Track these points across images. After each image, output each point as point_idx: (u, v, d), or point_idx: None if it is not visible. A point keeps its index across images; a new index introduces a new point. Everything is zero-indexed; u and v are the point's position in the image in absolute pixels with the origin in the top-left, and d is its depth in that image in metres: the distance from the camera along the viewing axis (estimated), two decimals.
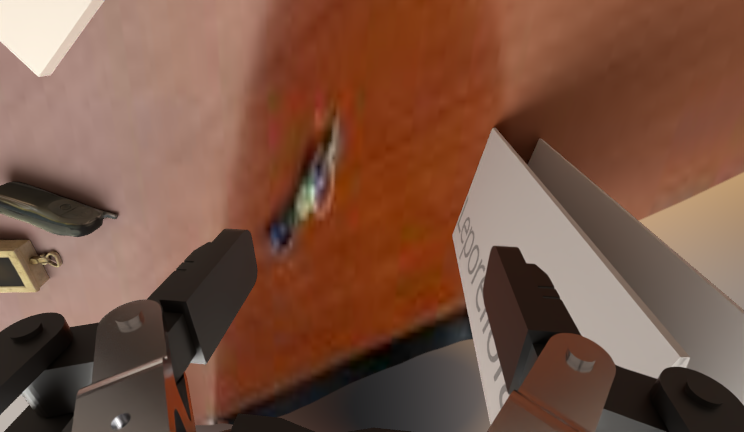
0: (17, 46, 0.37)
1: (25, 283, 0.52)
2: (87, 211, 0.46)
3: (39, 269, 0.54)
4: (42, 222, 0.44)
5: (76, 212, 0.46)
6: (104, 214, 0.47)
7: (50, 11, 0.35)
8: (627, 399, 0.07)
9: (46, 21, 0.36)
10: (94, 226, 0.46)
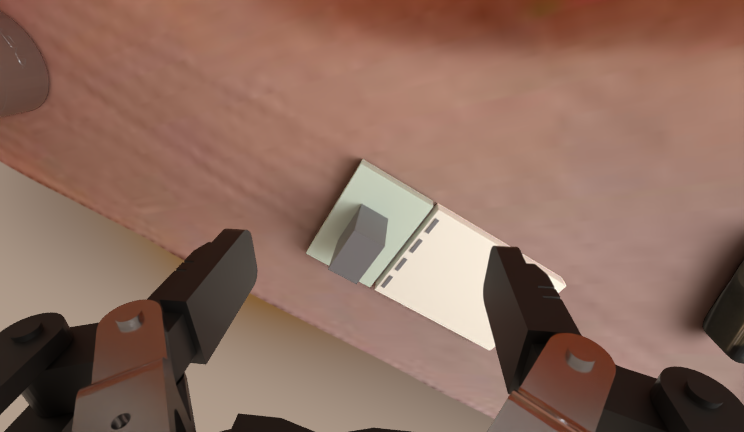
0: None
1: None
2: None
3: None
4: None
5: None
6: None
7: None
8: (627, 399, 0.07)
9: None
10: None
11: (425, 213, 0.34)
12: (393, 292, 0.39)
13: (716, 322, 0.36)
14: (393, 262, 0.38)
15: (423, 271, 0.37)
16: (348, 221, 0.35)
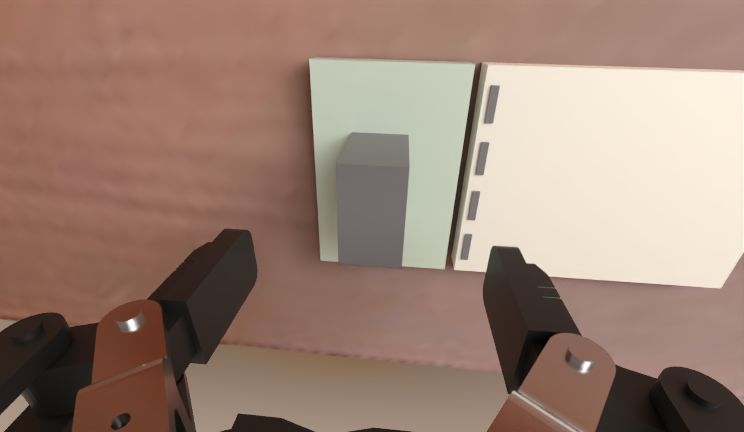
0: None
1: None
2: None
3: None
4: None
5: None
6: None
7: (661, 119, 0.17)
8: (627, 399, 0.07)
9: (689, 118, 0.17)
10: None
11: (467, 86, 0.17)
12: (487, 260, 0.22)
13: None
14: (460, 211, 0.21)
15: (520, 199, 0.20)
16: None
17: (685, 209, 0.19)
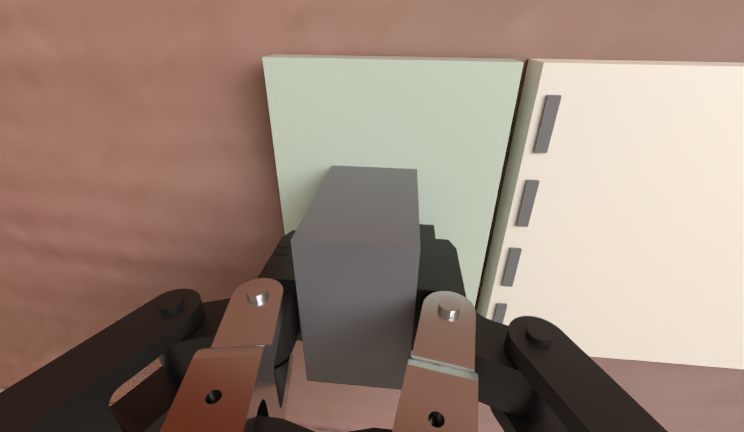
0: None
1: None
2: None
3: None
4: None
5: None
6: None
7: None
8: (485, 343, 0.08)
9: None
10: None
11: (509, 97, 0.11)
12: None
13: None
14: (490, 270, 0.15)
15: (581, 259, 0.13)
16: None
17: None
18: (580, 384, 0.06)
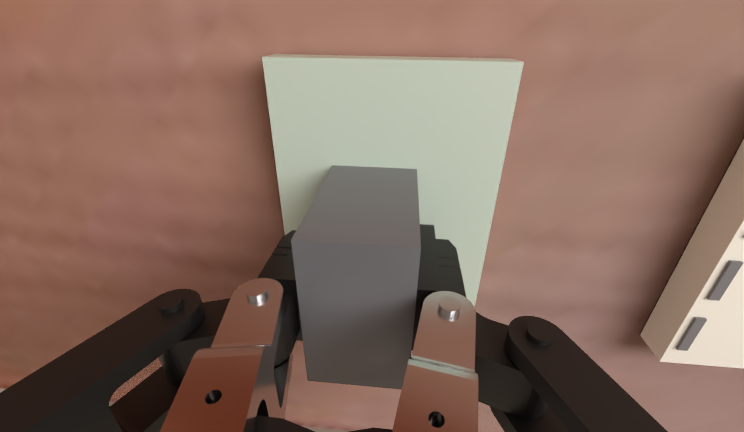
0: None
1: None
2: None
3: None
4: None
5: None
6: None
7: None
8: (485, 343, 0.08)
9: None
10: None
11: (509, 97, 0.11)
12: (715, 351, 0.15)
13: None
14: (686, 283, 0.14)
15: None
16: None
17: None
18: (580, 384, 0.06)
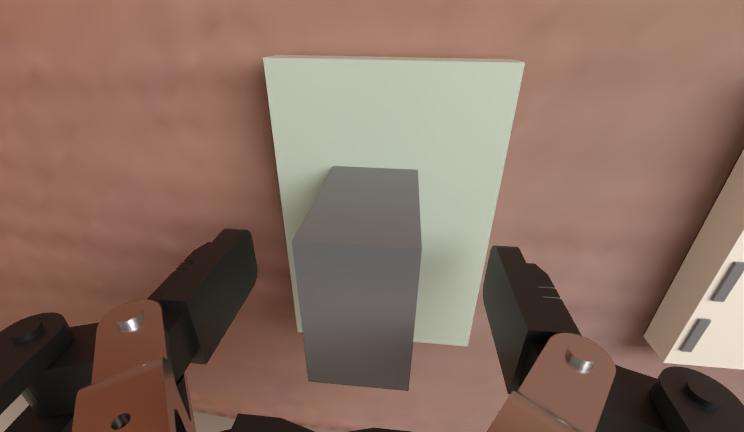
0: None
1: None
2: None
3: None
4: None
5: None
6: None
7: None
8: (627, 399, 0.07)
9: None
10: None
11: (510, 98, 0.11)
12: (719, 352, 0.15)
13: None
14: (690, 284, 0.14)
15: None
16: None
17: None
18: None
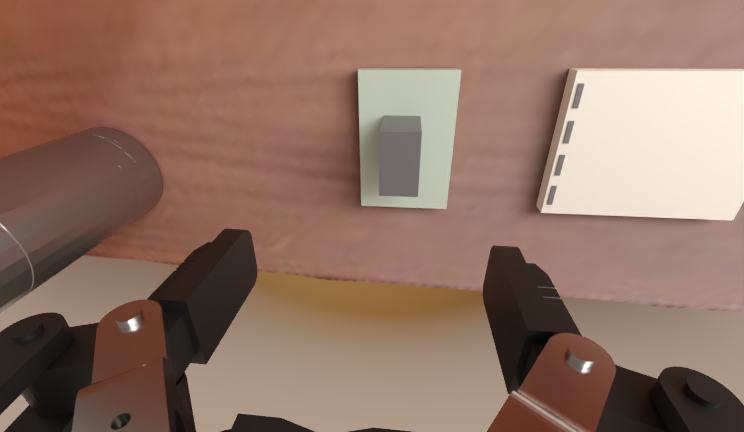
0: None
1: None
2: None
3: None
4: None
5: None
6: None
7: (691, 102, 0.26)
8: (627, 399, 0.07)
9: (709, 101, 0.26)
10: None
11: (457, 84, 0.27)
12: (565, 204, 0.31)
13: None
14: (548, 170, 0.30)
15: (592, 159, 0.29)
16: None
17: (707, 163, 0.28)
18: None
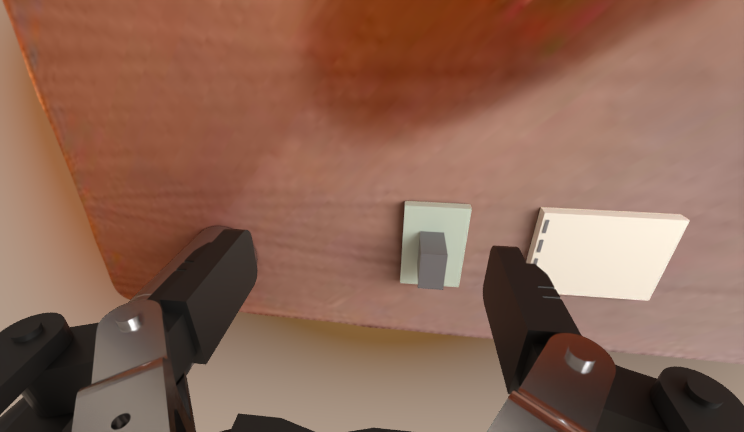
0: (668, 241, 0.41)
1: None
2: None
3: None
4: None
5: None
6: None
7: (616, 233, 0.41)
8: (627, 399, 0.07)
9: (627, 232, 0.41)
10: None
11: (468, 216, 0.42)
12: None
13: None
14: None
15: (556, 261, 0.44)
16: (417, 247, 0.45)
17: (629, 266, 0.43)
18: None
